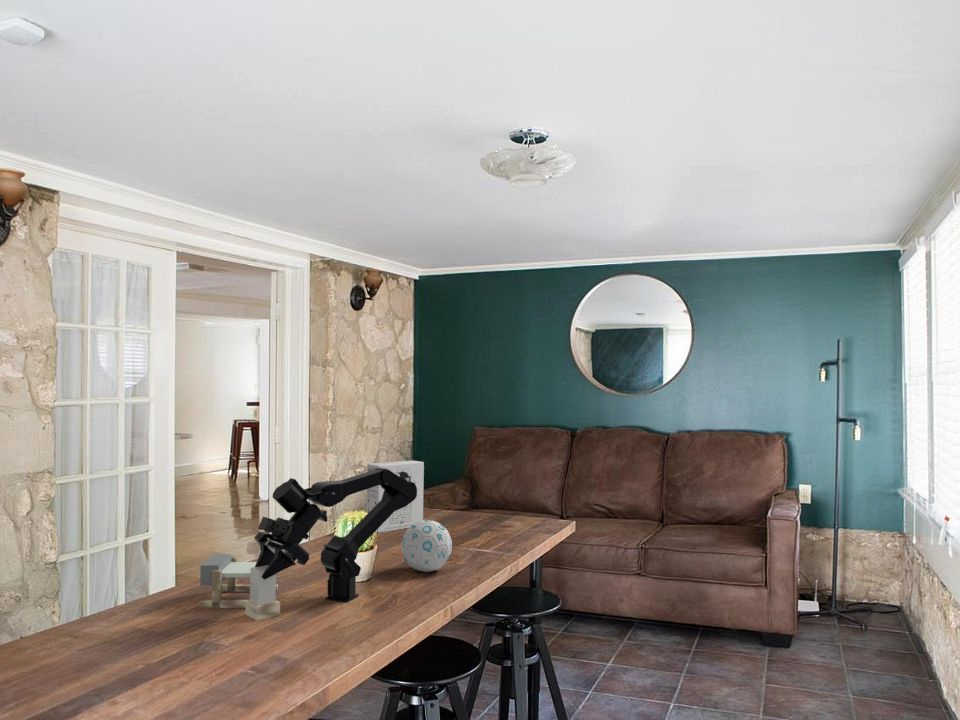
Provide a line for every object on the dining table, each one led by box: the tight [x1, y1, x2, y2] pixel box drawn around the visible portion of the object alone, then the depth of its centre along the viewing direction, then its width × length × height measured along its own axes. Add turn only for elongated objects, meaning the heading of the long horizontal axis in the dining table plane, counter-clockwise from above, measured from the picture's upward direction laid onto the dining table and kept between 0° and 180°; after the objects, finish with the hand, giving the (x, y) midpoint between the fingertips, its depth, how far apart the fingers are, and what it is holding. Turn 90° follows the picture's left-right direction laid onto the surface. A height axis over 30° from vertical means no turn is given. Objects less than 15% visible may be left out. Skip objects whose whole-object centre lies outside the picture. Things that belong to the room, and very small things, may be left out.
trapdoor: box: [199, 553, 257, 586], centre depth 200 cm, size 16×12×5 cm
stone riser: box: [244, 600, 281, 621], centre depth 186 cm, size 6×6×3 cm
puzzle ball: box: [401, 519, 453, 573], centre depth 231 cm, size 15×15×15 cm
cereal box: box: [365, 459, 425, 534], centre depth 296 cm, size 22×8×25 cm, turn 133°
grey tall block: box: [249, 565, 277, 605], centre depth 186 cm, size 4×4×8 cm
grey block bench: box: [198, 556, 279, 609], centre depth 200 cm, size 16×16×9 cm
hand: (258, 576), depth 185 cm, fingers closed on grey tall block, 4 cm apart
